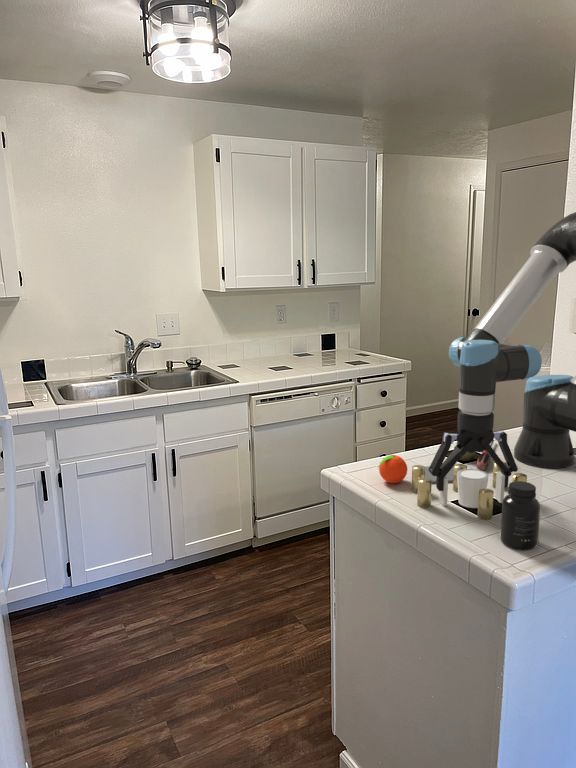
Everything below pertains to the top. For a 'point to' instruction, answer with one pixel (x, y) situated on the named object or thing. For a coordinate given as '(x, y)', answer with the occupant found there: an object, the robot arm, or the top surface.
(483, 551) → the top surface
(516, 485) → the supplement bottle
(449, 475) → the slate mat
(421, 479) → the spacer field
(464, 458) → the fennel bulb
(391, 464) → the clementine
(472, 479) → the white cup
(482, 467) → the screwdriver
